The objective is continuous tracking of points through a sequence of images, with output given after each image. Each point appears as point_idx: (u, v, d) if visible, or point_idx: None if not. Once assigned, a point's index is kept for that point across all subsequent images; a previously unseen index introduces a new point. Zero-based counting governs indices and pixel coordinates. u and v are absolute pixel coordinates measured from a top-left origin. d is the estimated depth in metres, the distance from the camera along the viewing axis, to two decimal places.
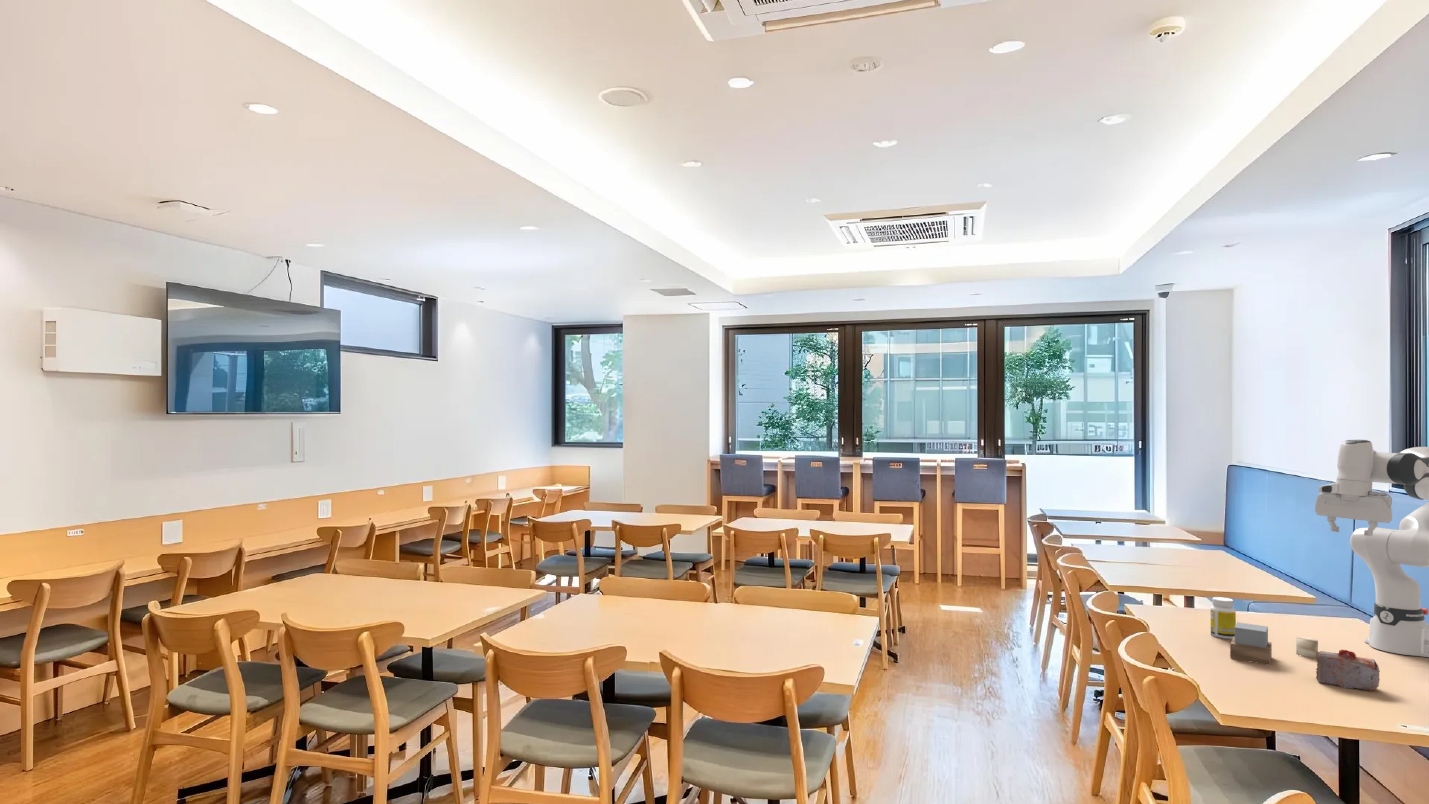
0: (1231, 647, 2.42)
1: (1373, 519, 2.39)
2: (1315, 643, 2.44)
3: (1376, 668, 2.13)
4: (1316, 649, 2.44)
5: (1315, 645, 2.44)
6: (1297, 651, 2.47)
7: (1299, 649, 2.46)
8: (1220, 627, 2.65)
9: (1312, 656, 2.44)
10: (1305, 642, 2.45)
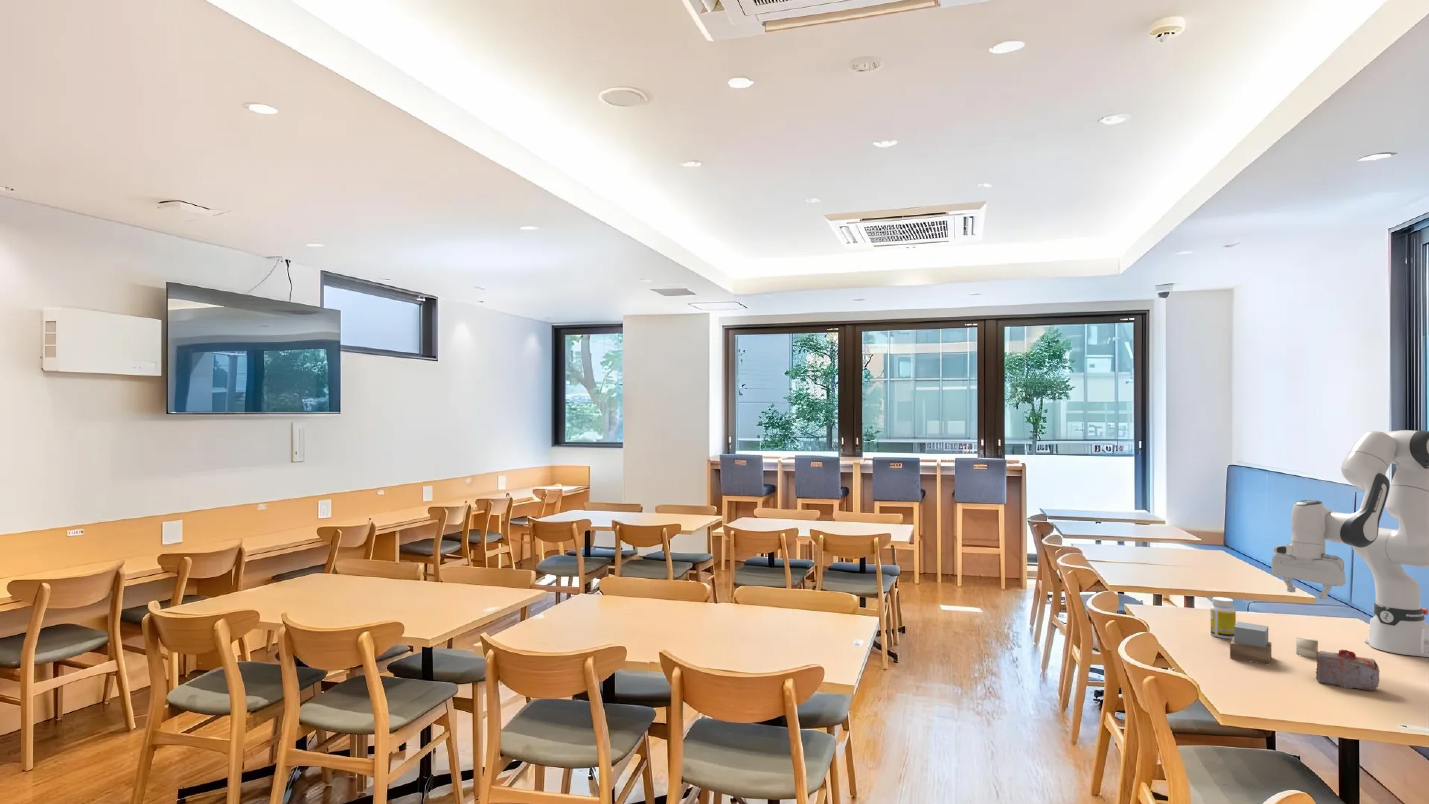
0: (1231, 647, 2.42)
1: (1327, 583, 2.40)
2: (1315, 643, 2.44)
3: (1376, 668, 2.13)
4: (1316, 649, 2.44)
5: (1315, 645, 2.44)
6: (1297, 651, 2.47)
7: (1299, 649, 2.46)
8: (1220, 627, 2.65)
9: (1312, 656, 2.44)
10: (1305, 642, 2.45)
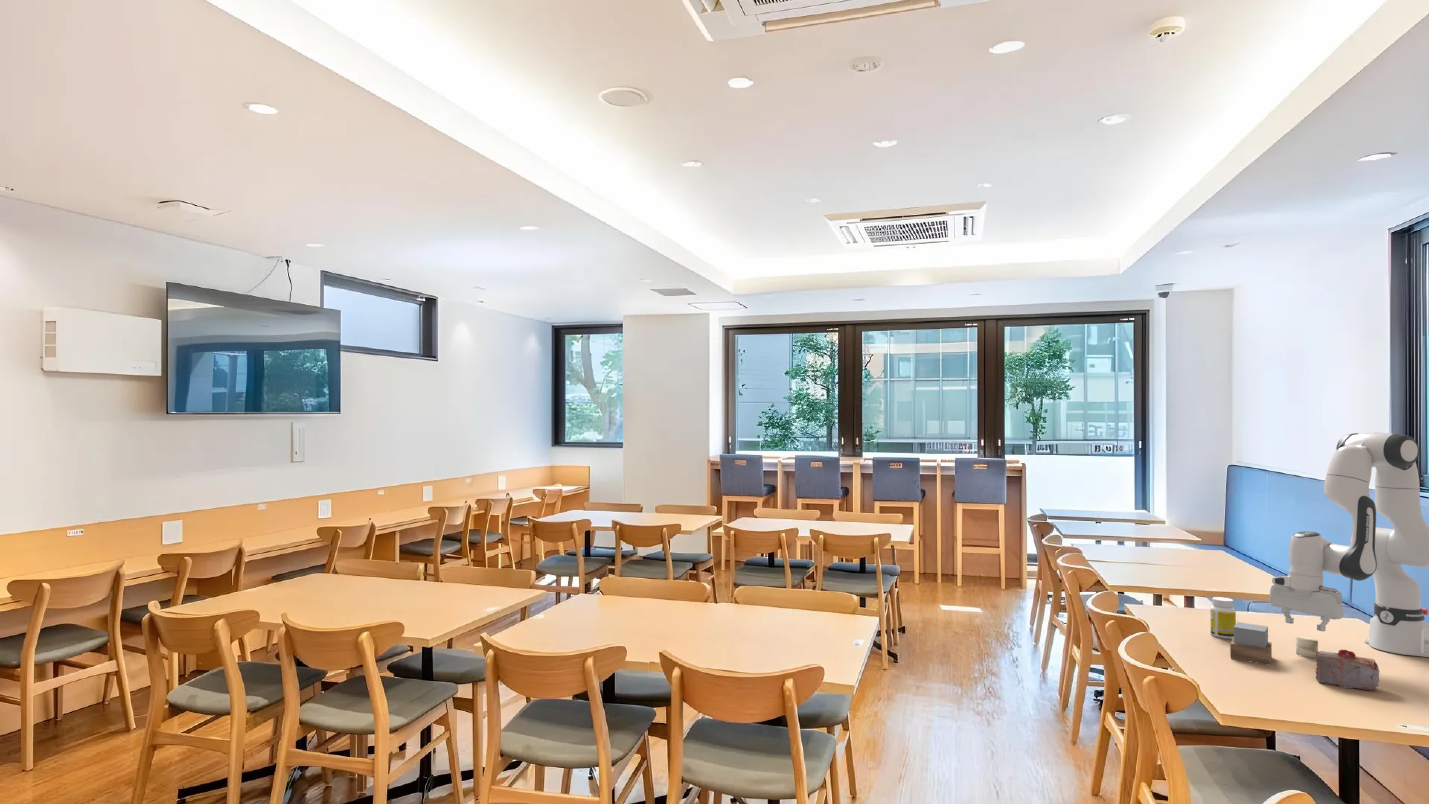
0: (1231, 647, 2.42)
1: (1325, 615, 2.40)
2: (1315, 643, 2.44)
3: (1376, 668, 2.14)
4: (1316, 649, 2.44)
5: (1315, 645, 2.44)
6: (1297, 651, 2.47)
7: (1299, 649, 2.46)
8: (1220, 627, 2.65)
9: (1312, 656, 2.44)
10: (1305, 642, 2.45)
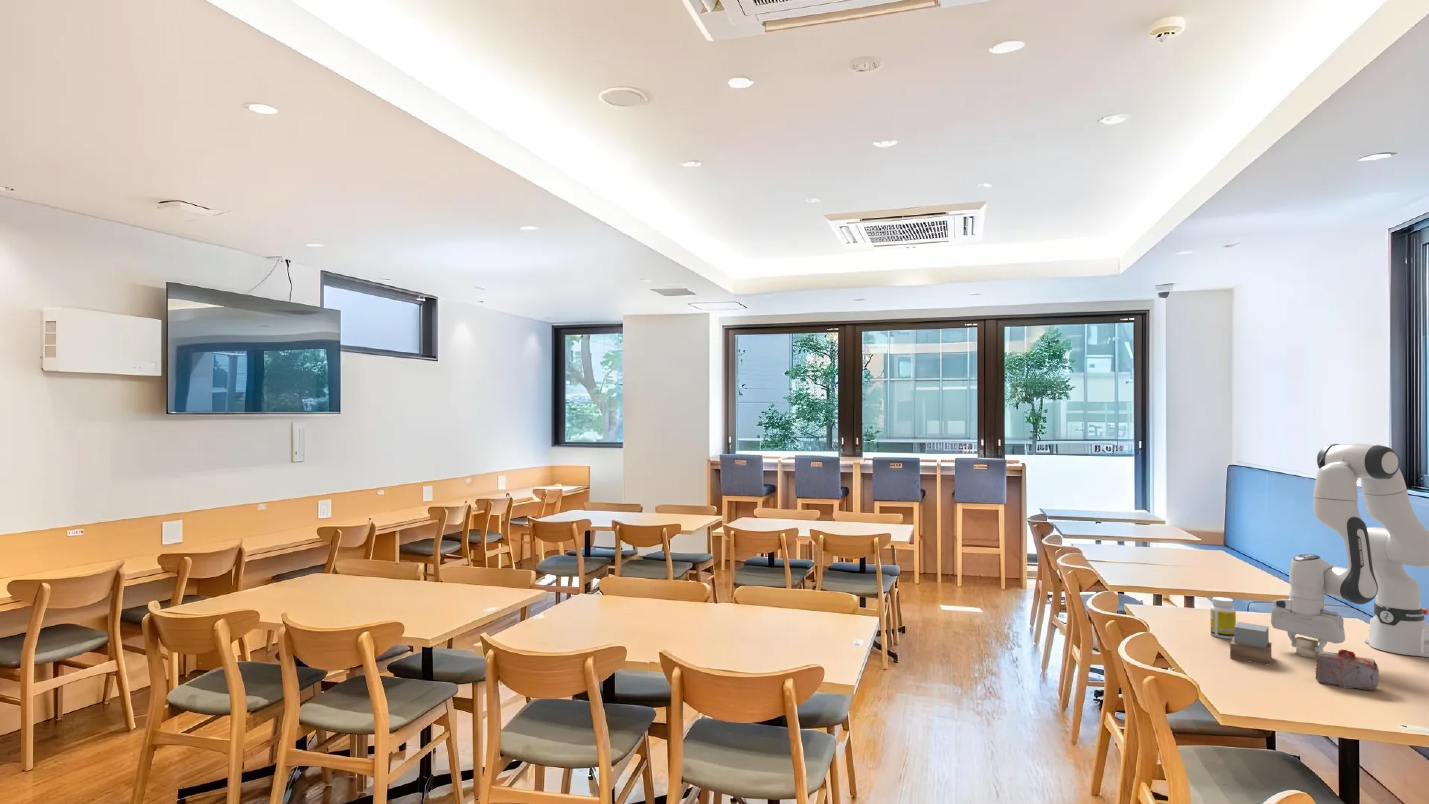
0: (1231, 647, 2.42)
1: (1326, 639, 2.40)
2: (1315, 643, 2.44)
3: (1375, 668, 2.14)
4: None
5: (1315, 645, 2.44)
6: (1297, 651, 2.47)
7: (1299, 649, 2.46)
8: (1220, 627, 2.65)
9: (1312, 656, 2.44)
10: (1305, 642, 2.45)
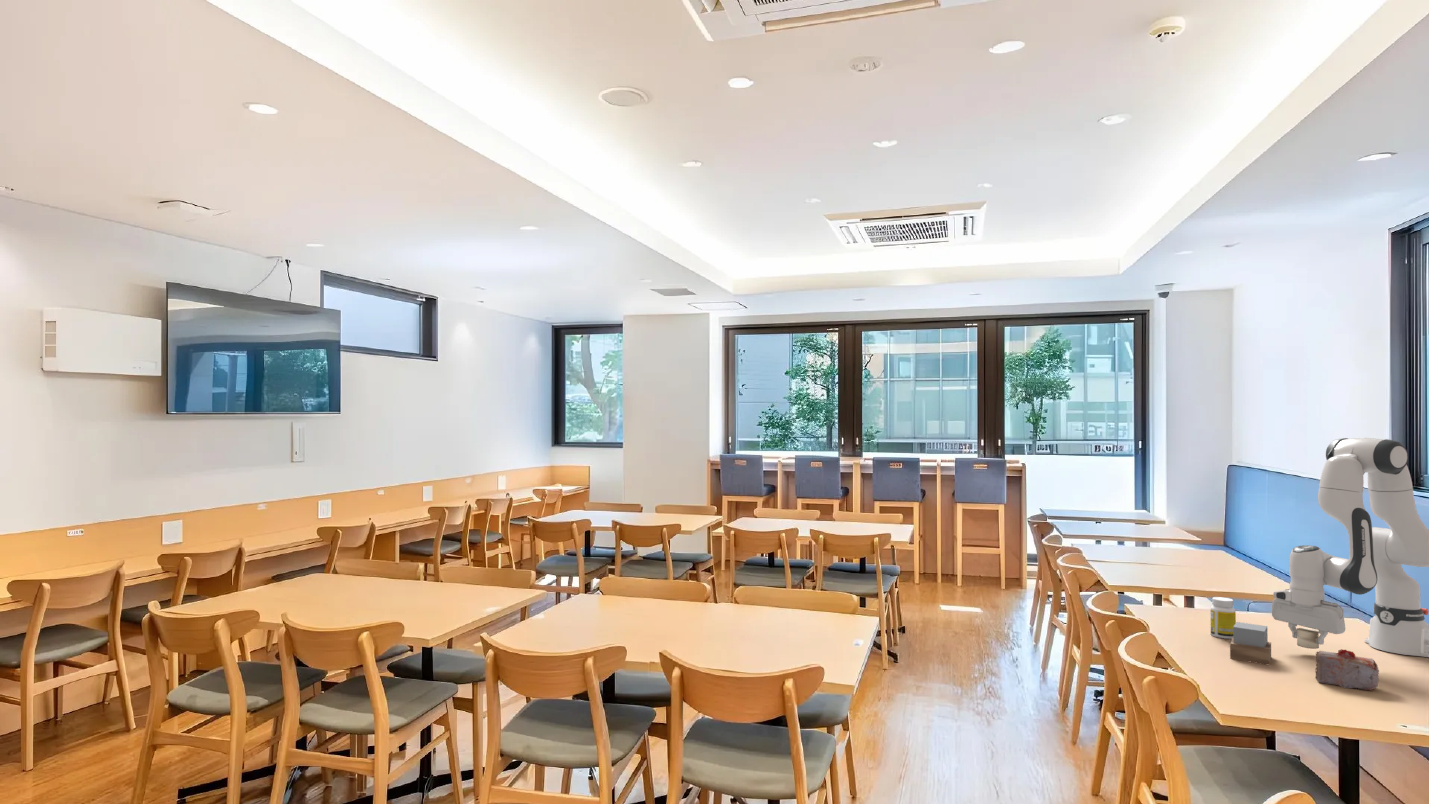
0: (1231, 647, 2.42)
1: (1327, 630, 2.40)
2: (1316, 634, 2.44)
3: (1375, 668, 2.14)
4: None
5: (1315, 636, 2.44)
6: (1298, 642, 2.48)
7: (1299, 640, 2.47)
8: (1220, 627, 2.65)
9: (1313, 647, 2.44)
10: (1306, 633, 2.45)
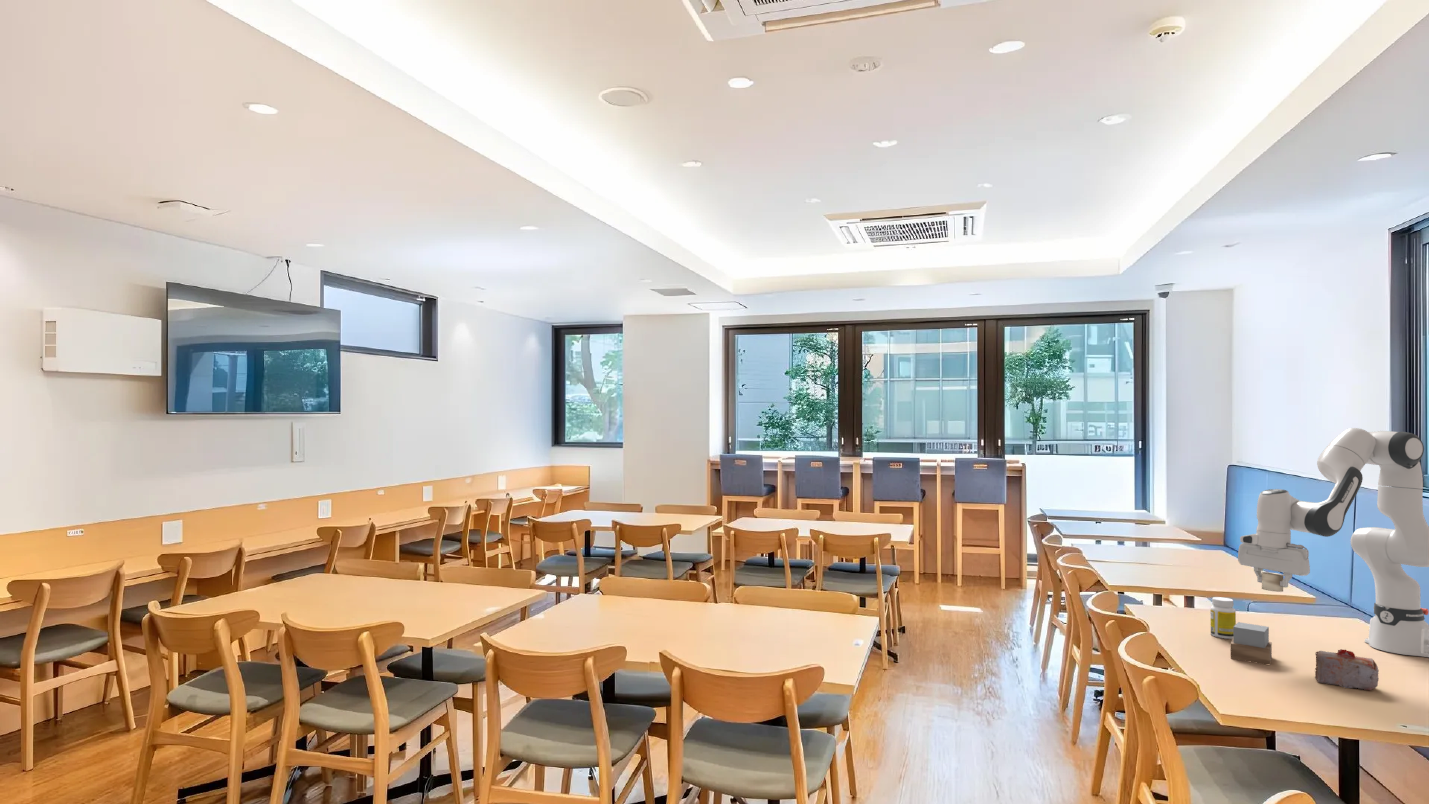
0: (1231, 647, 2.42)
1: (1291, 572, 2.38)
2: (1280, 577, 2.42)
3: (1375, 668, 2.14)
4: None
5: (1280, 579, 2.42)
6: (1262, 585, 2.46)
7: (1264, 583, 2.45)
8: (1220, 627, 2.65)
9: (1277, 590, 2.42)
10: (1270, 576, 2.43)
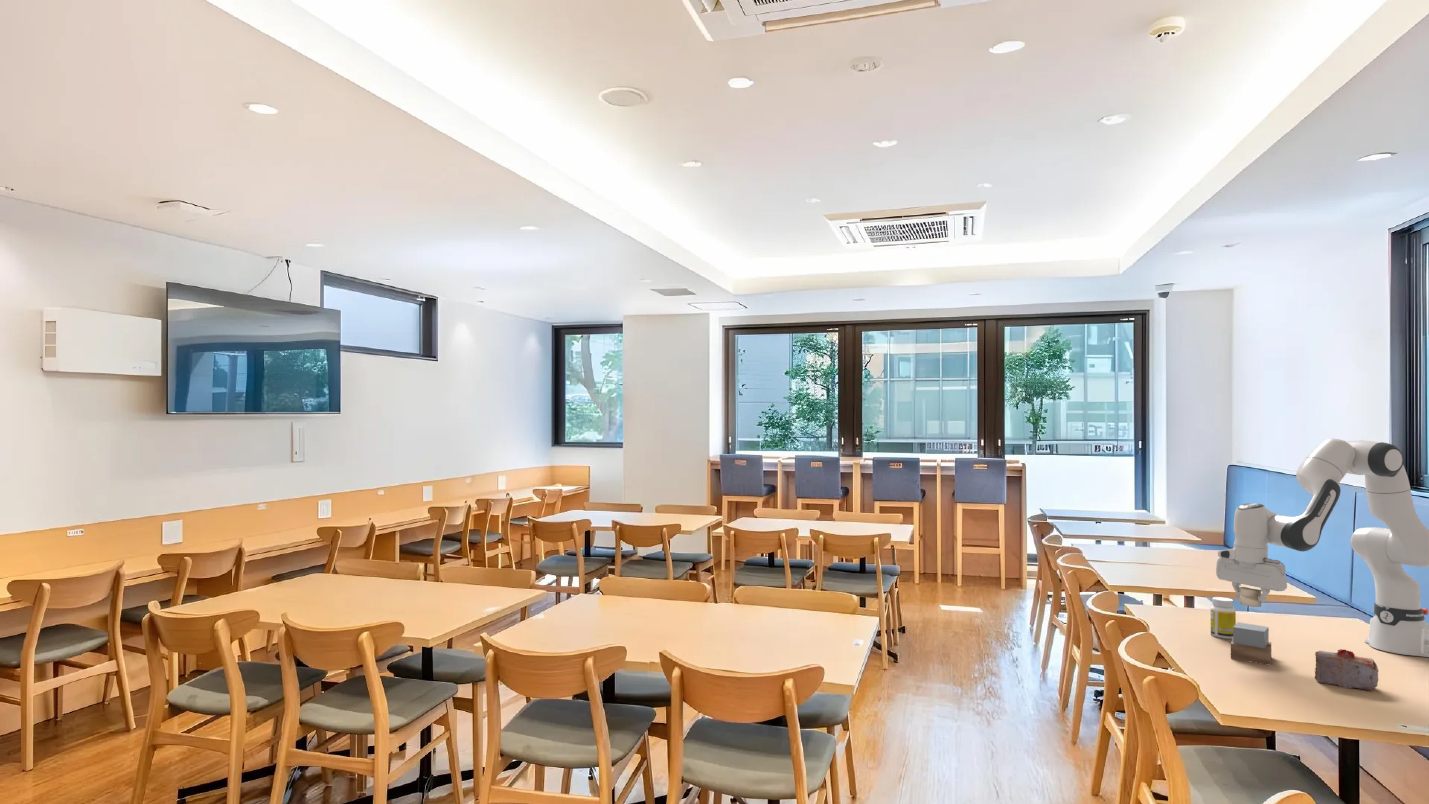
0: (1231, 647, 2.42)
1: (1269, 587, 2.37)
2: (1258, 592, 2.41)
3: (1375, 667, 2.14)
4: None
5: (1257, 594, 2.41)
6: (1240, 600, 2.44)
7: (1242, 599, 2.43)
8: (1220, 627, 2.65)
9: (1255, 605, 2.41)
10: (1248, 591, 2.42)
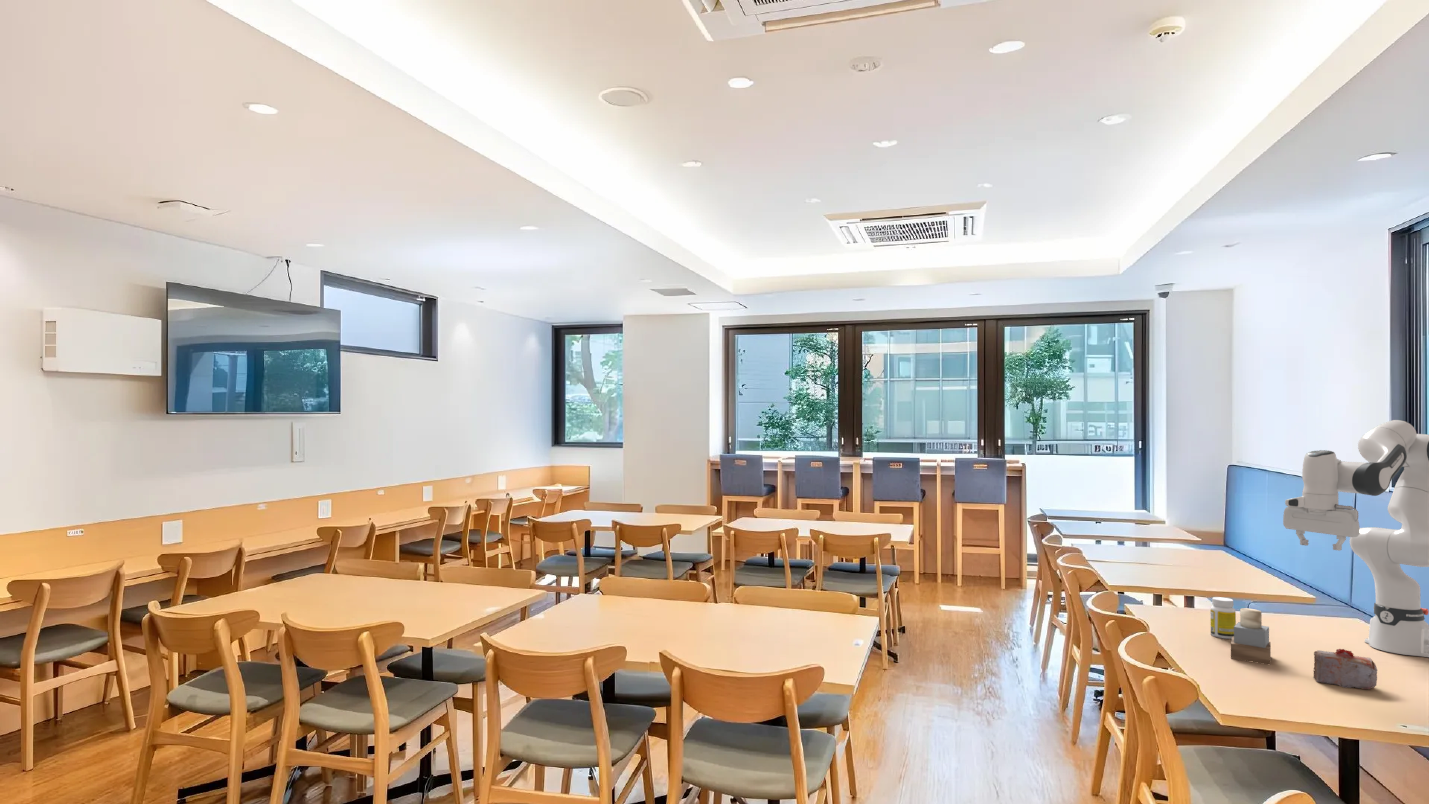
0: (1231, 647, 2.42)
1: (1341, 534, 2.34)
2: (1258, 614, 2.41)
3: (1374, 667, 2.14)
4: (1259, 620, 2.41)
5: (1258, 616, 2.41)
6: (1241, 622, 2.44)
7: (1242, 620, 2.43)
8: (1220, 627, 2.65)
9: (1255, 627, 2.41)
10: (1249, 613, 2.42)
